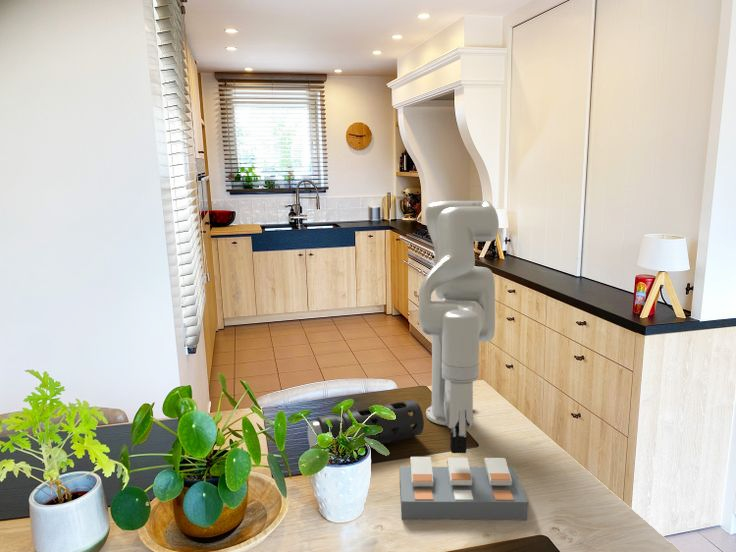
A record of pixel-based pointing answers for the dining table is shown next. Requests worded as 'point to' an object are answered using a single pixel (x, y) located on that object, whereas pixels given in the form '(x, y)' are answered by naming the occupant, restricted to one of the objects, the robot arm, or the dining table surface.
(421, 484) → the switch
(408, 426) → the muzzle brake
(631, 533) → the dining table surface
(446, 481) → the console
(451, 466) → the switch
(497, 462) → the switch
